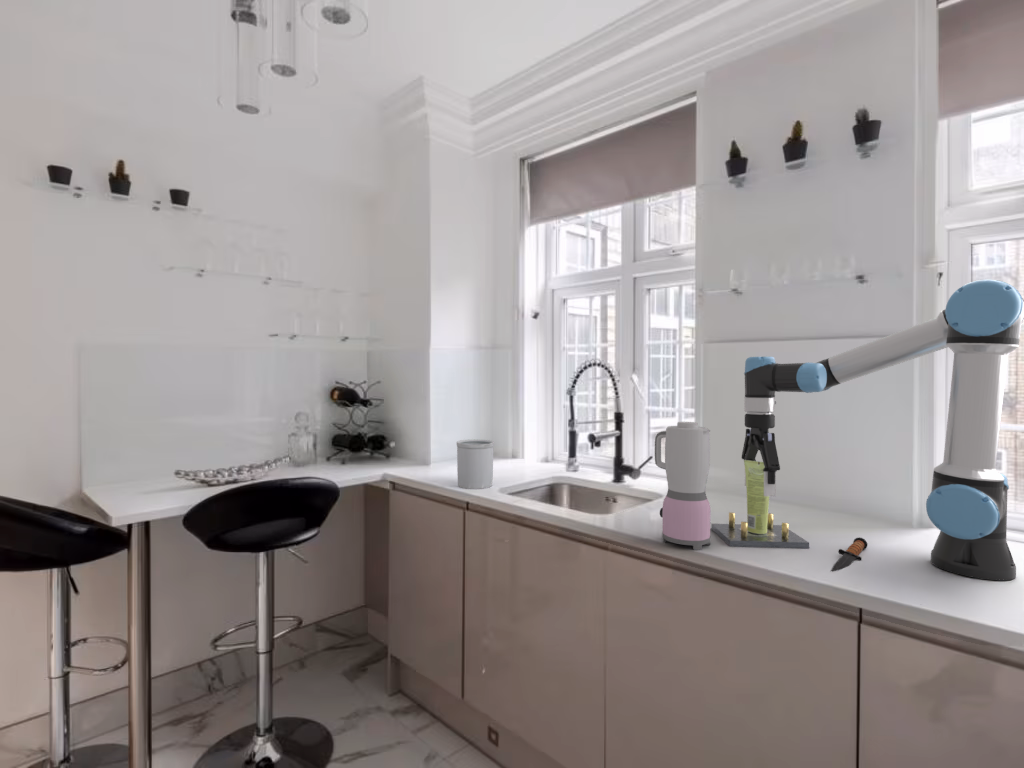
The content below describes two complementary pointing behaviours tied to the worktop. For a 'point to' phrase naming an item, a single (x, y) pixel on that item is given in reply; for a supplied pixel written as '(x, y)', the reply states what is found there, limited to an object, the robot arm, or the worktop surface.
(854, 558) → the knife
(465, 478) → the utensil holder
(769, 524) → the plate
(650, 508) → the worktop surface
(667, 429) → the blender
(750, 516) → the tube
